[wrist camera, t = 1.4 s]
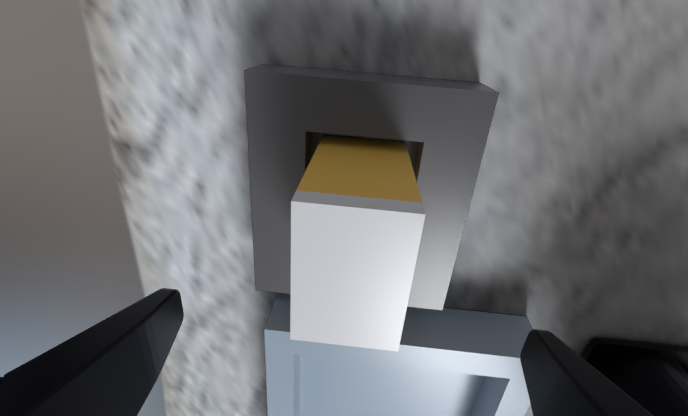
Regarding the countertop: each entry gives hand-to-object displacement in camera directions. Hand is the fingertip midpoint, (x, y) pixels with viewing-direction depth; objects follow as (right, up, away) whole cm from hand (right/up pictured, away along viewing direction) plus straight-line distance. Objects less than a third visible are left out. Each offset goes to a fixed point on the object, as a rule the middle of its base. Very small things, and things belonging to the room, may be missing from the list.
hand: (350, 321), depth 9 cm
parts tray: (+2, -10, +15) cm, 18 cm away
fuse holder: (+1, +4, +8) cm, 9 cm away
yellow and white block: (+1, +4, +7) cm, 8 cm away
